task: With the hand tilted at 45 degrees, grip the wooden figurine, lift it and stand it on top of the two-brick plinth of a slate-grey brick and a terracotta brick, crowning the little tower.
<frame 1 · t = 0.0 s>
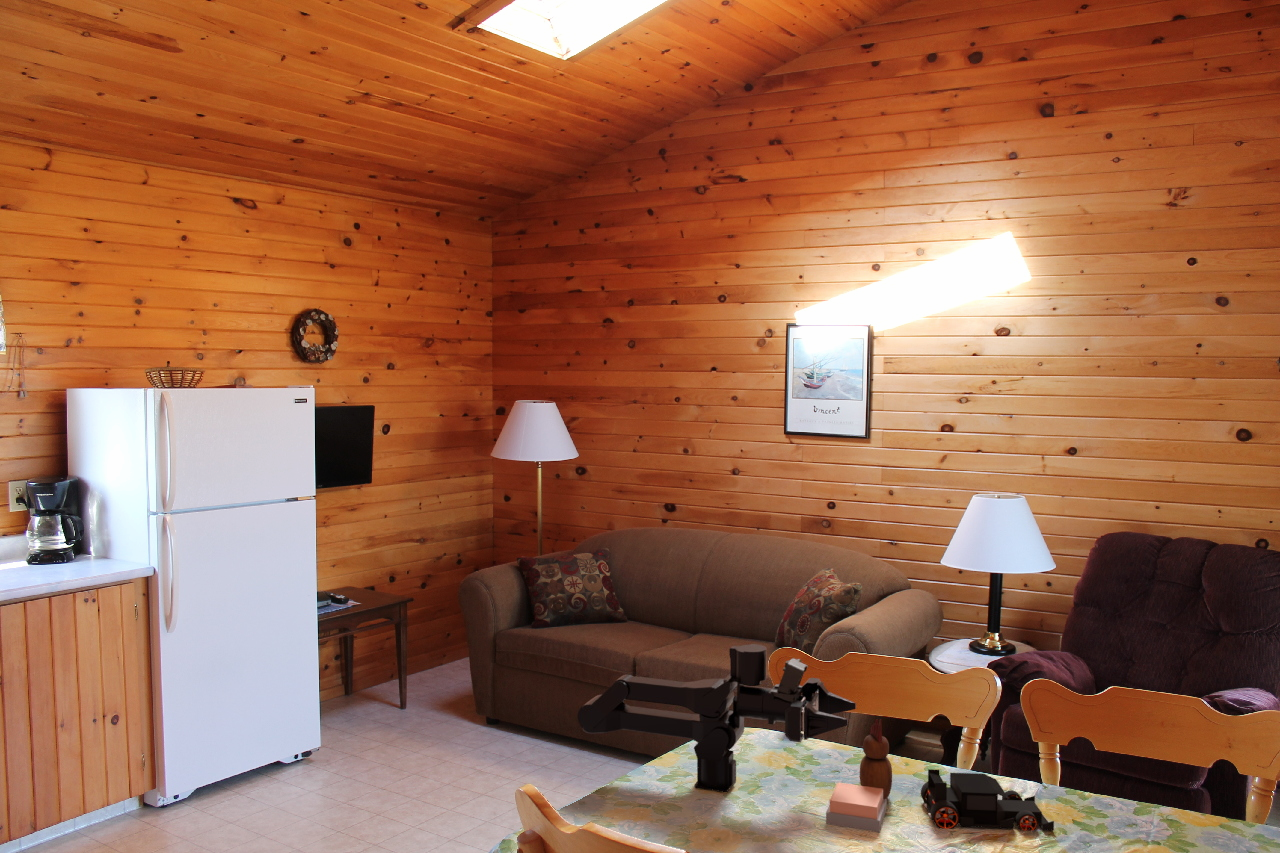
hand: (851, 714, 172), 17 cm above the table, tool horizontal, fingers open, 9 cm apart
brick plinth: (856, 817, 168), on the table
black toy car: (984, 820, 168), on the table
wooden figurine: (875, 798, 176), on the table
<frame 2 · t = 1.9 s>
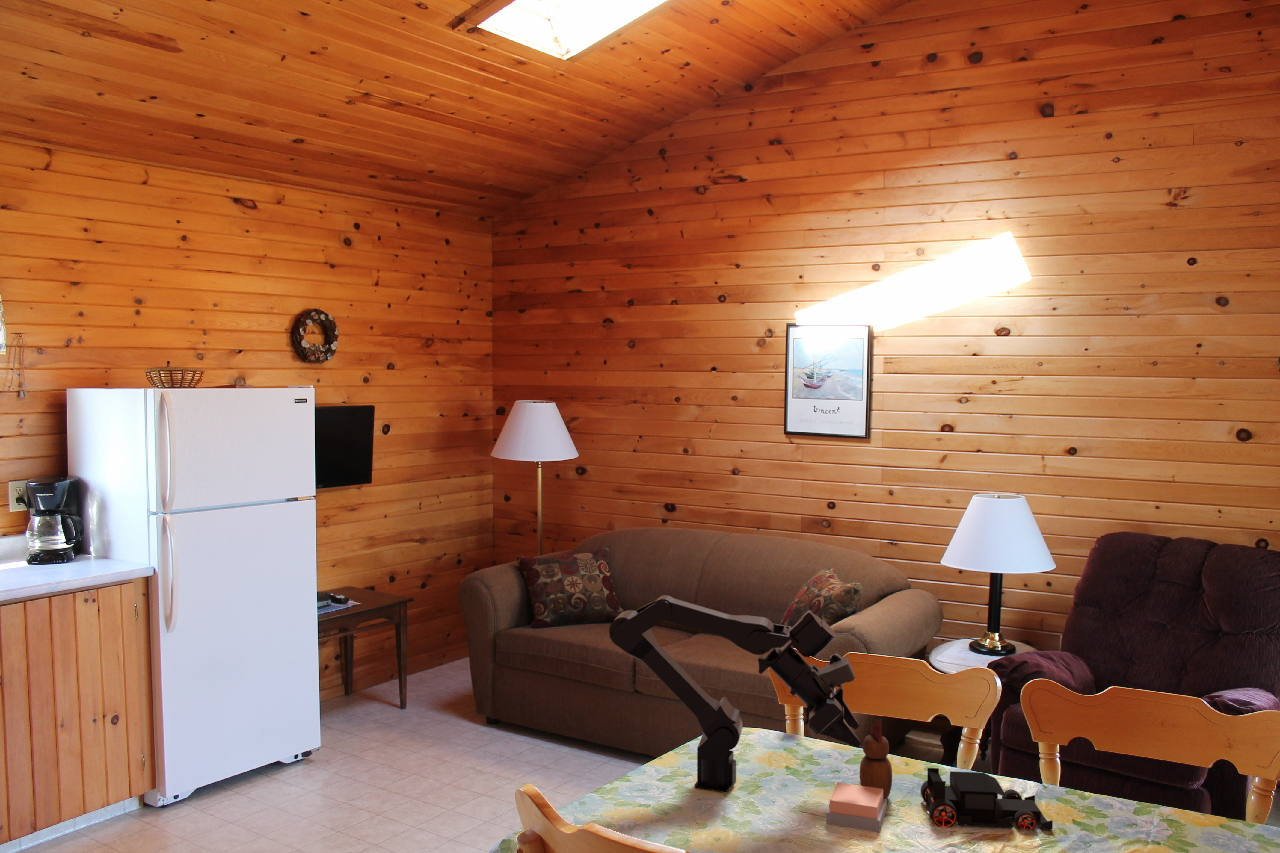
hand: (858, 736, 176), 11 cm above the table, tool tilted 45°, fingers open, 9 cm apart
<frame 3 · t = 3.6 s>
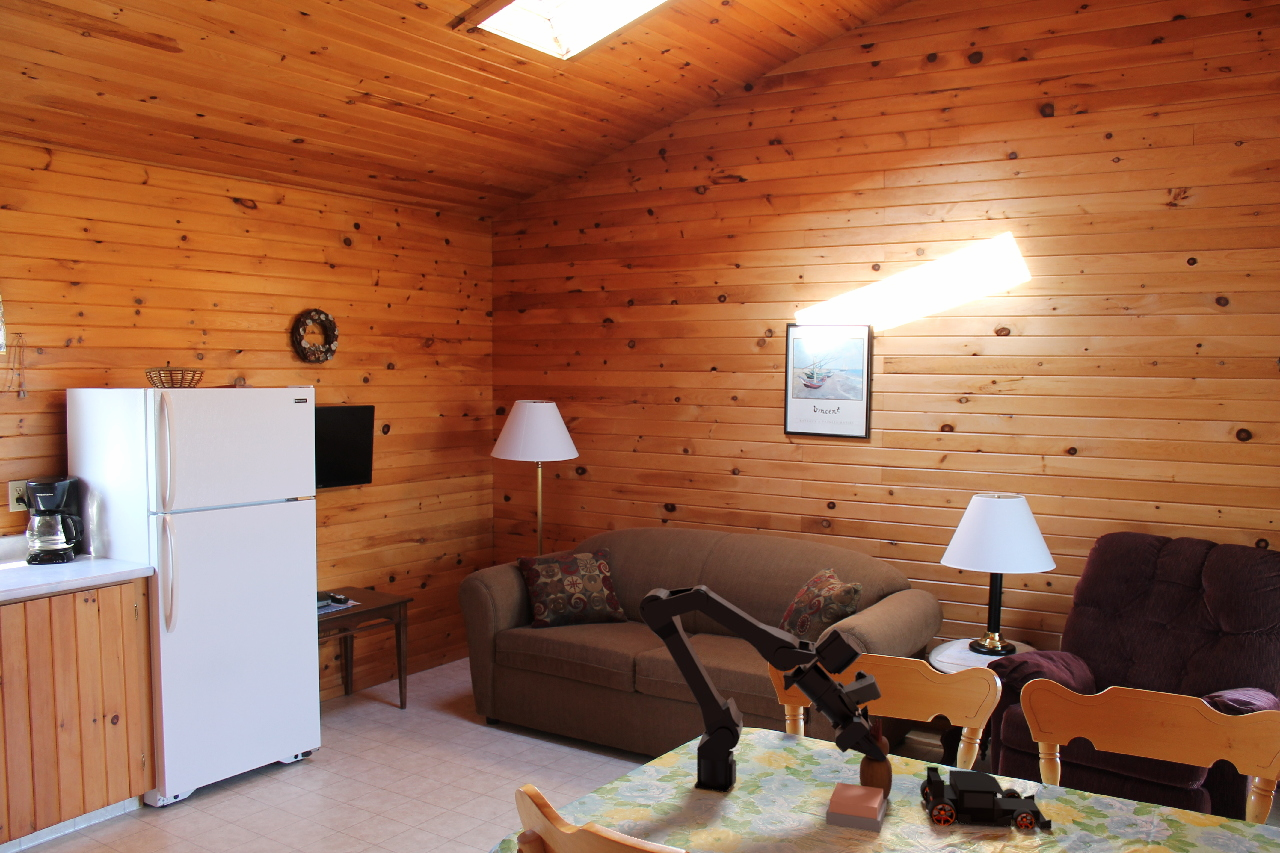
hand: (883, 754, 175), 8 cm above the table, tool tilted 45°, fingers closed on wooden figurine, 5 cm apart
wooden figurine: (875, 798, 176), on the table, touching gripper
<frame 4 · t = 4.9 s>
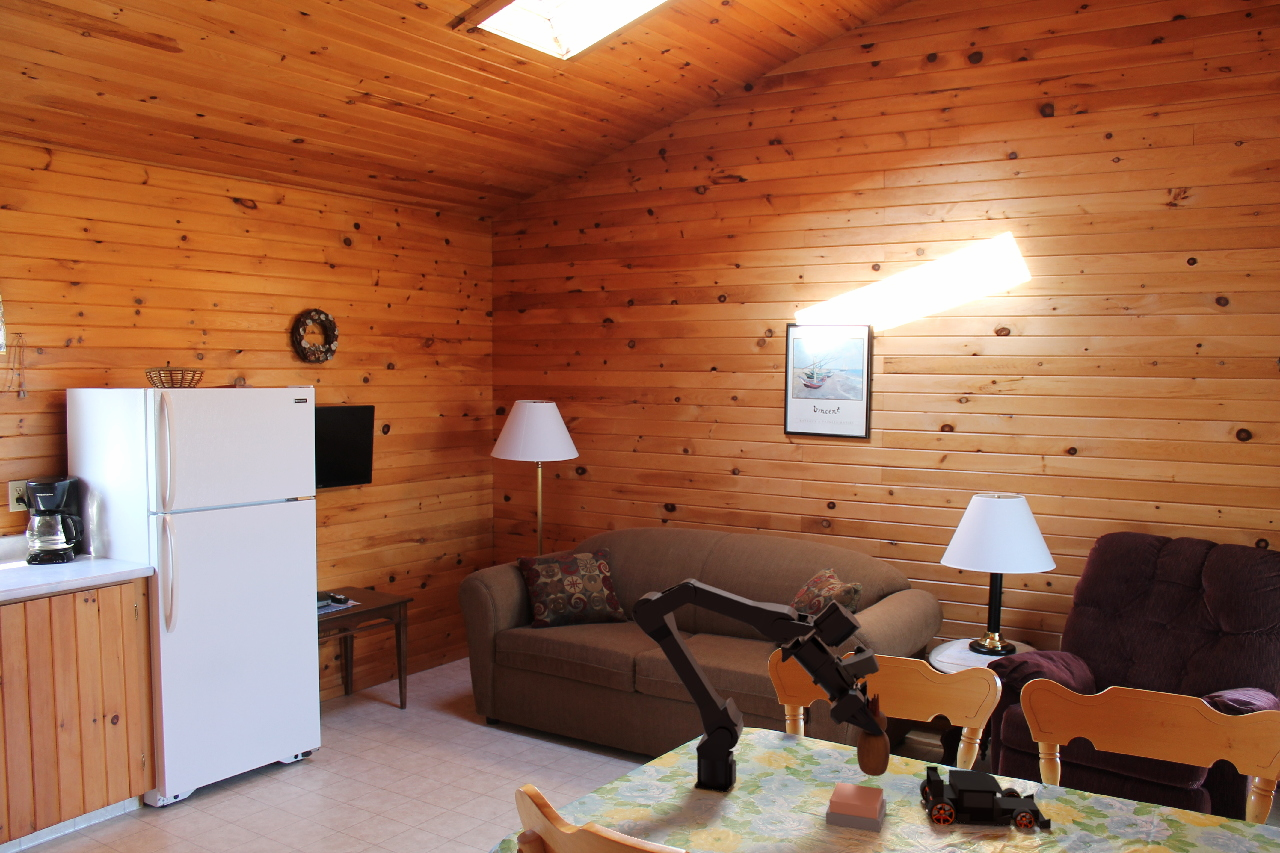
hand: (881, 728, 174), 13 cm above the table, tool tilted 45°, fingers closed on wooden figurine, 5 cm apart
wooden figurine: (872, 773, 174), point 5 cm above the table, touching gripper
when the fingers open (13 cm above the table, at t = 6.3 s): wooden figurine stays where it is, resting on brick plinth.
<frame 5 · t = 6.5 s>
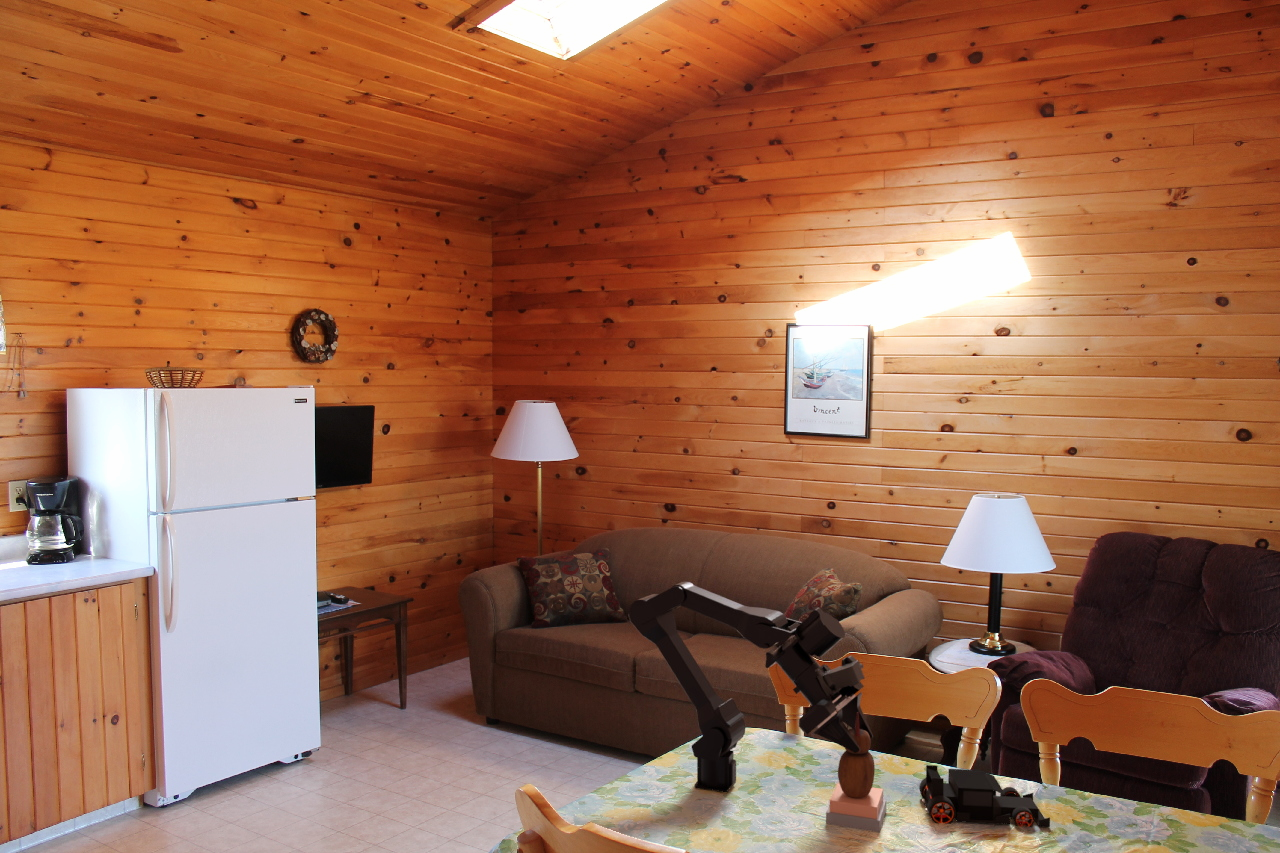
hand: (864, 744, 166), 13 cm above the table, tool tilted 45°, fingers open, 7 cm apart
wooden figurine: (856, 795, 168), point 4 cm above the table, touching brick plinth
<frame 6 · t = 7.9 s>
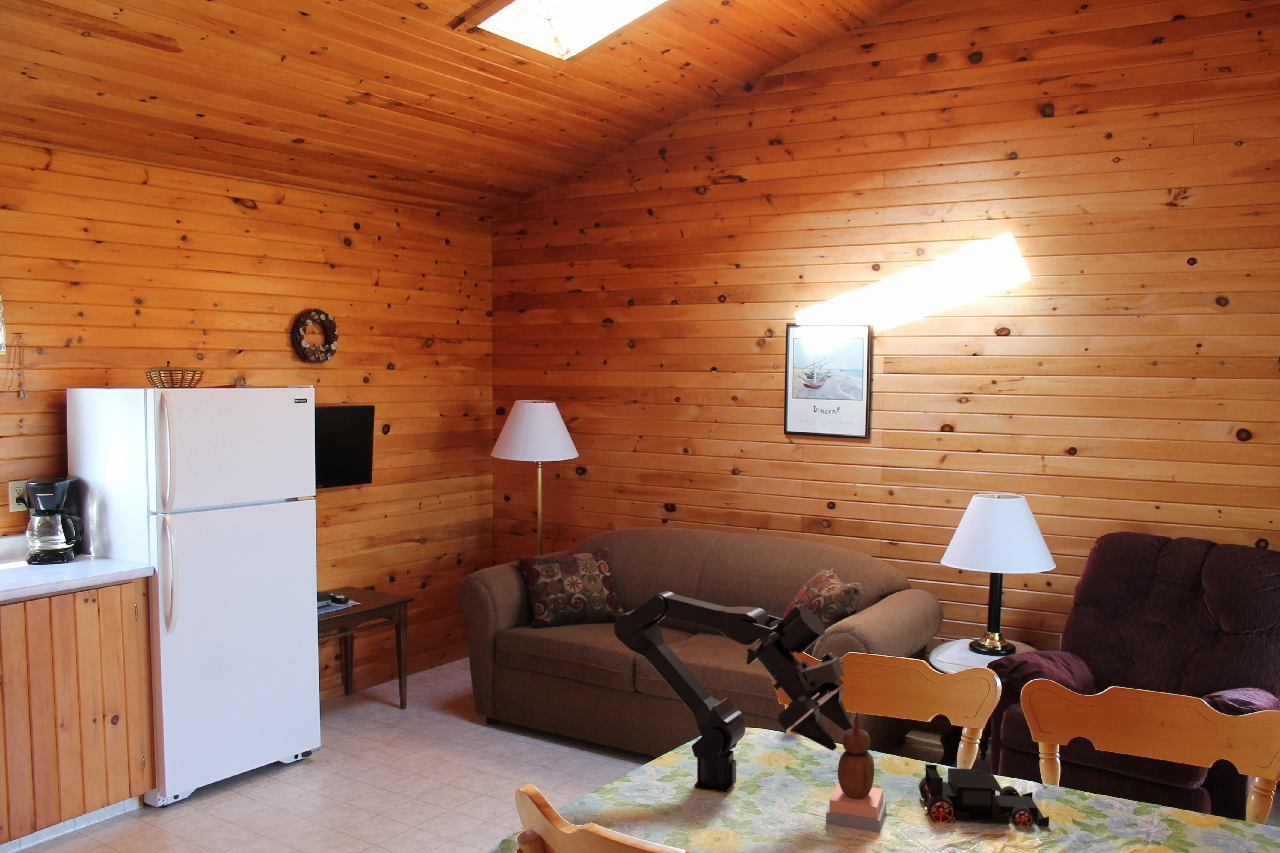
hand: (843, 740, 168), 13 cm above the table, tool tilted 45°, fingers open, 9 cm apart
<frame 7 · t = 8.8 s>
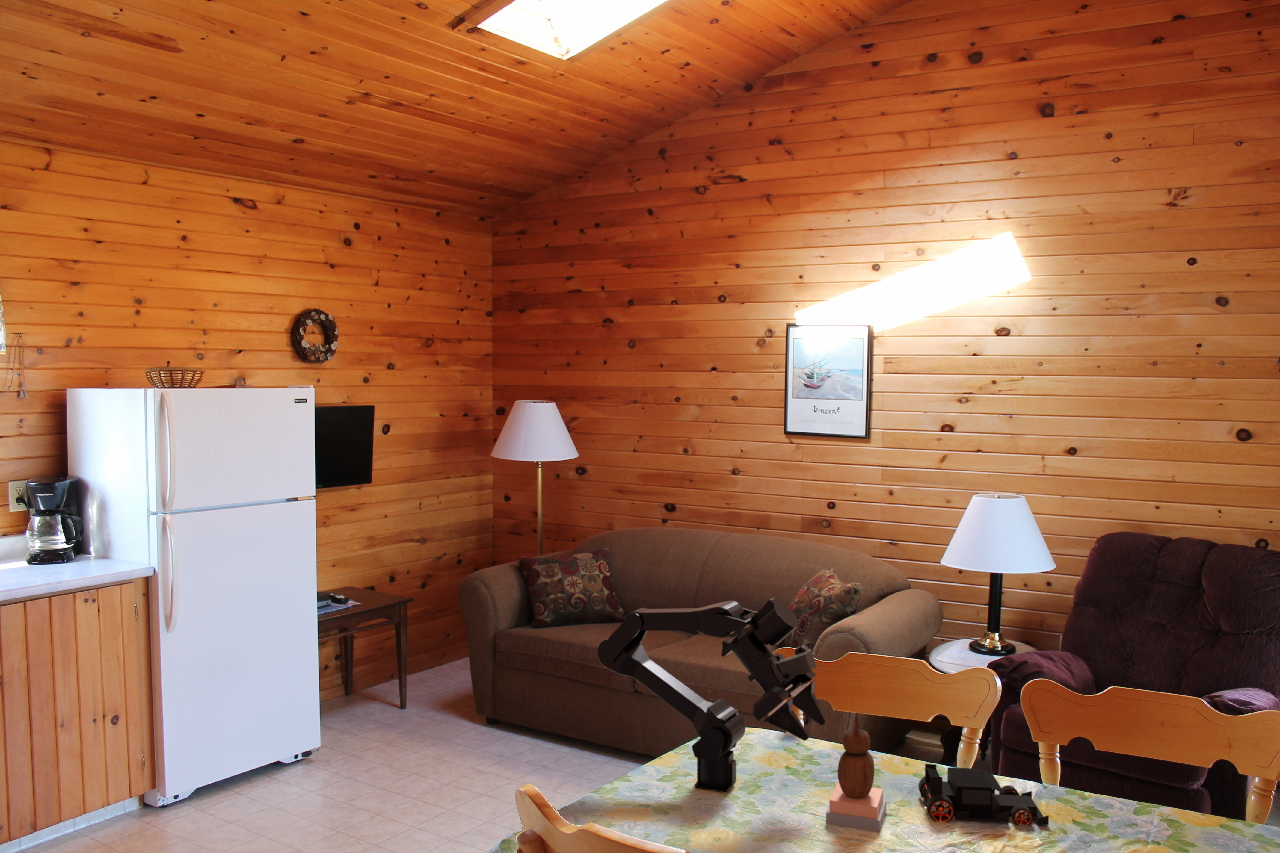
hand: (815, 731, 171), 14 cm above the table, tool tilted 45°, fingers open, 9 cm apart
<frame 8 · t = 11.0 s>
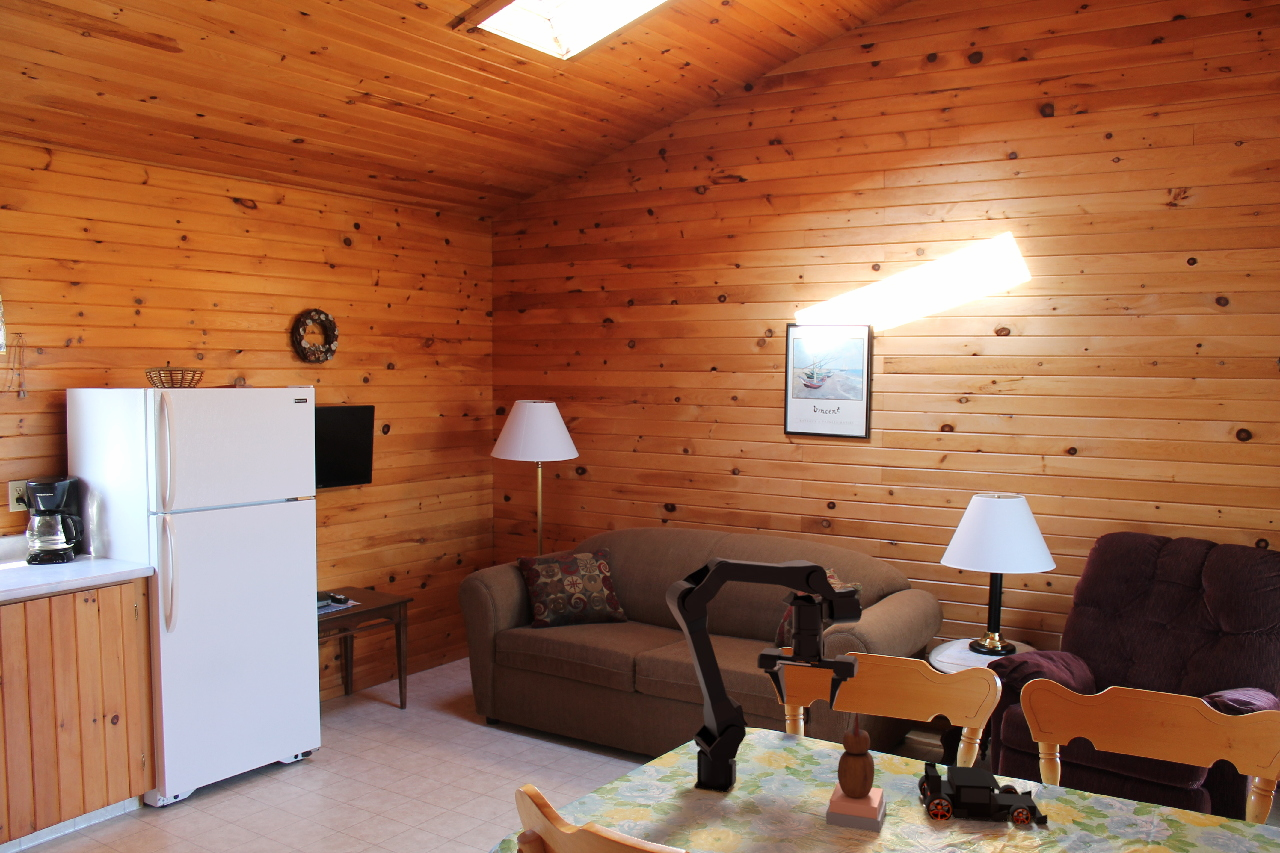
hand: (807, 706, 187), 13 cm above the table, tool pointing down, fingers open, 9 cm apart
at the end: wooden figurine 0.1 cm off-centre on the brick plinth, point 3.8 cm above the brick plinth's base; wooden figurine tilted 0°; the gripper is holding nothing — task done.
